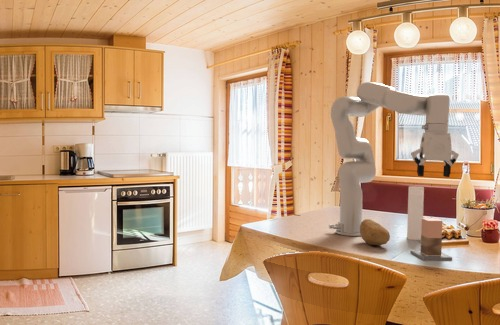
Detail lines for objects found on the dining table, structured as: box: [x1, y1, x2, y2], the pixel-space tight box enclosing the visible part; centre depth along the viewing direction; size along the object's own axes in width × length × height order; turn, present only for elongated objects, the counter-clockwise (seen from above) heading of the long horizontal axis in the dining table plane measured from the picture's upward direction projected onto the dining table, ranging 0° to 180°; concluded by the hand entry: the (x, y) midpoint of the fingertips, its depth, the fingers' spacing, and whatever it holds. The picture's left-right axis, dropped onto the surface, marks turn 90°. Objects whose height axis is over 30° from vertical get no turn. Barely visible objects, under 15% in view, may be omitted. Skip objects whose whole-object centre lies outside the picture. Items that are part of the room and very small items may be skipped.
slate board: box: [410, 249, 453, 261], centre depth 154 cm, size 10×10×1 cm
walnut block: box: [420, 235, 443, 255], centre depth 154 cm, size 5×5×6 cm
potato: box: [360, 218, 391, 246], centre depth 170 cm, size 9×16×9 cm, turn 10°
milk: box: [406, 185, 425, 242], centre depth 183 cm, size 6×6×22 cm
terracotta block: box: [421, 217, 443, 238], centre depth 153 cm, size 5×5×6 cm
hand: (433, 176), depth 158 cm, fingers open, 9 cm apart
